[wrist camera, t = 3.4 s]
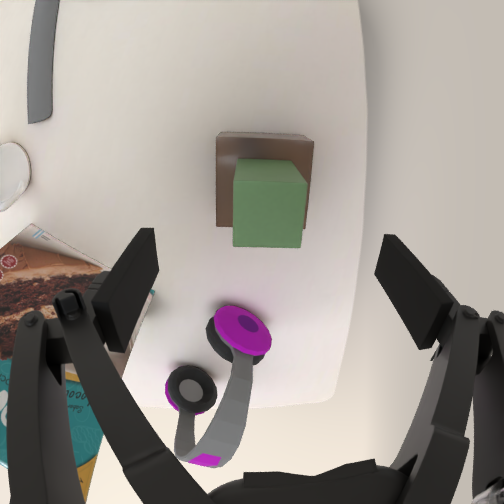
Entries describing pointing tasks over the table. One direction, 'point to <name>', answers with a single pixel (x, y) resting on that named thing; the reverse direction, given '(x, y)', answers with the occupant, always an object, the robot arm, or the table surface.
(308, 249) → the table surface
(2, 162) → the mug
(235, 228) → the green block
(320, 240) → the table surface
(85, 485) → the cake mix box
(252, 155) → the walnut block
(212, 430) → the headphones
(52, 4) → the gray half cylinder
